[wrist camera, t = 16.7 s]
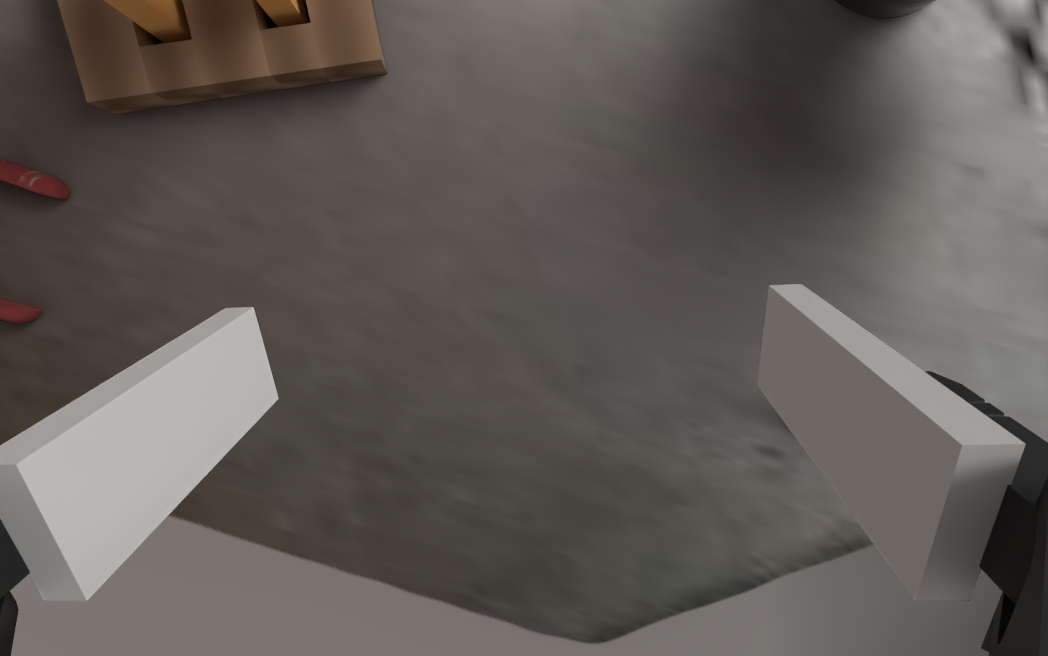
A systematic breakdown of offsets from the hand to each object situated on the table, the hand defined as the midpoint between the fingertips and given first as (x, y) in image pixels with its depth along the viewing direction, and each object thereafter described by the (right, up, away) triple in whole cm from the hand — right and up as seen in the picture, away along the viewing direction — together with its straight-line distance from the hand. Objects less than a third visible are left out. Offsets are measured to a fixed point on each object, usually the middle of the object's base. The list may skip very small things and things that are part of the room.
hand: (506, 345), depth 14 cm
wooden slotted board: (-21, +24, +25) cm, 40 cm away
